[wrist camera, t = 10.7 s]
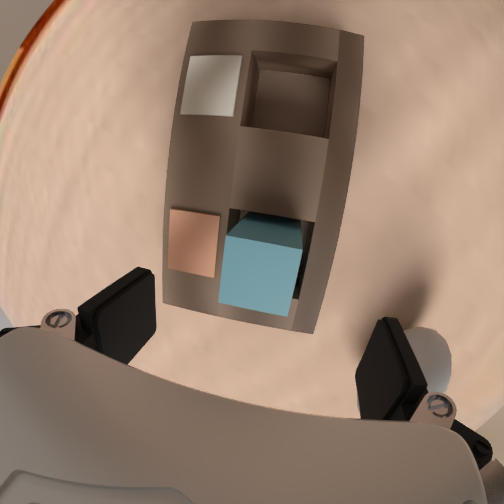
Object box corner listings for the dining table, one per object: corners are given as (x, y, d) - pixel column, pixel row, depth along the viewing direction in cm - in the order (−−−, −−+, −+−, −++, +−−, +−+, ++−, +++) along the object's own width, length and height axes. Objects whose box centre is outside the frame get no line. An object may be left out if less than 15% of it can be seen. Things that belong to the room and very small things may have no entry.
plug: (300, 219, 21) (302, 249, 14) (291, 266, 22) (287, 316, 15) (250, 210, 22) (225, 235, 14) (244, 257, 23) (218, 302, 15)
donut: (413, 301, 22) (459, 369, 12) (432, 317, 22) (476, 384, 12) (344, 370, 25) (354, 449, 16) (365, 382, 25) (379, 456, 16)
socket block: (353, 55, 16) (364, 34, 12) (311, 308, 23) (313, 336, 19) (208, 41, 17) (191, 20, 13) (181, 282, 25) (161, 304, 21)
